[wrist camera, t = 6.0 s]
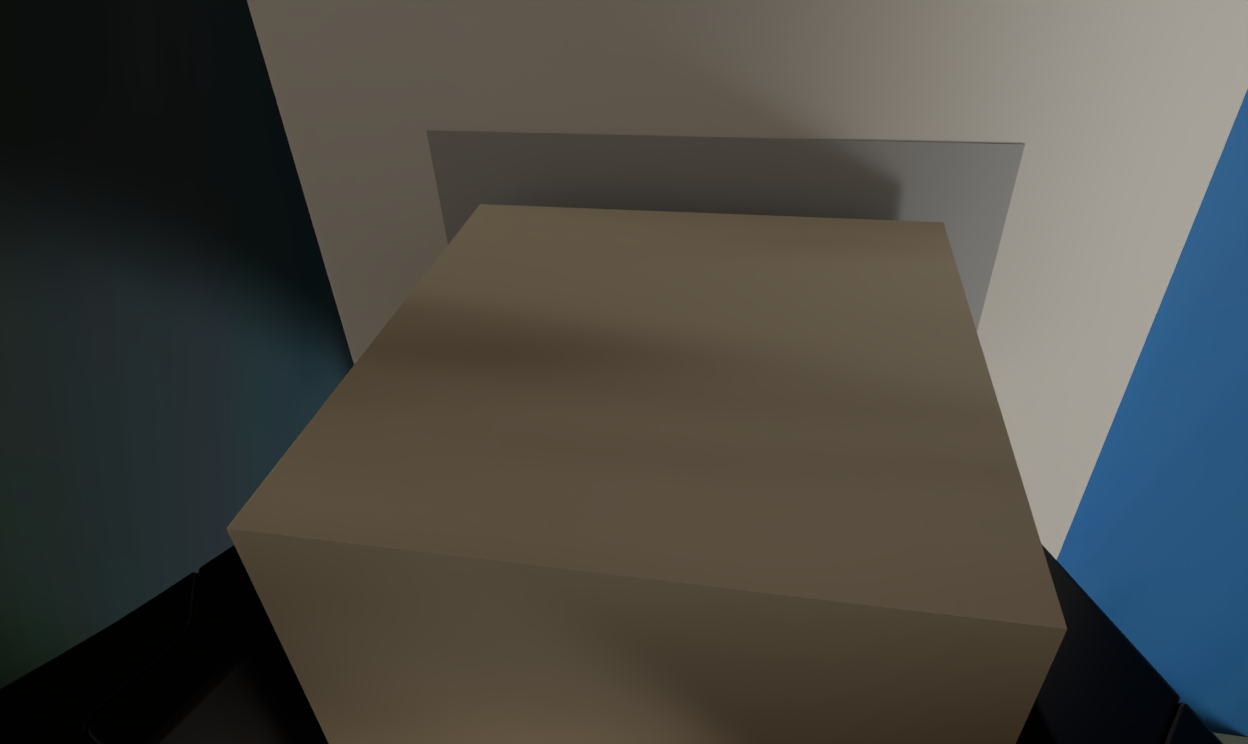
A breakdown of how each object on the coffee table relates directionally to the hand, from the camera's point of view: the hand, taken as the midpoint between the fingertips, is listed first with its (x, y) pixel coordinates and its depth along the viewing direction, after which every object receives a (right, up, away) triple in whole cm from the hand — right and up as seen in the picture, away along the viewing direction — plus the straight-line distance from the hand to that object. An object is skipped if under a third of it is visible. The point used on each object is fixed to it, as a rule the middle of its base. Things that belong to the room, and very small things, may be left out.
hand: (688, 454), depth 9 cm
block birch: (0, +1, +1) cm, 1 cm away
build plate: (0, +1, +2) cm, 2 cm away
